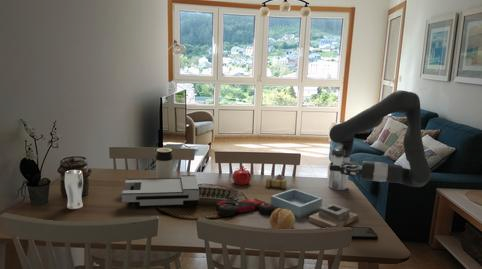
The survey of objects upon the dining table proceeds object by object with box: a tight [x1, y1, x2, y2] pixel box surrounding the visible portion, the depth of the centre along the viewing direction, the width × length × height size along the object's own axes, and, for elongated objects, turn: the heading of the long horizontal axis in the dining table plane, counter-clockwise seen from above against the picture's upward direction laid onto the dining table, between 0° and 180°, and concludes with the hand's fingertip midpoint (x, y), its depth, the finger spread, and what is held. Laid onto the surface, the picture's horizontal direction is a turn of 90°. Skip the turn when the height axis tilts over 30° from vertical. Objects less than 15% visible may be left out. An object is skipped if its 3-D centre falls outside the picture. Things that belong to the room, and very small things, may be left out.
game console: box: [121, 174, 200, 210], centre depth 174 cm, size 21×32×8 cm, turn 102°
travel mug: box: [155, 147, 173, 178], centre depth 193 cm, size 8×8×18 cm
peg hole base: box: [308, 202, 359, 229], centre depth 161 cm, size 18×12×5 cm, turn 134°
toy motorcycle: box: [216, 198, 276, 217], centre depth 168 cm, size 25×5×16 cm
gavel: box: [265, 174, 287, 190], centre depth 206 cm, size 21×5×10 cm
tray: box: [270, 188, 323, 219], centre depth 172 cm, size 16×16×5 cm
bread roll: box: [269, 208, 296, 230], centre depth 149 cm, size 10×15×8 cm, turn 168°
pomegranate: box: [231, 165, 252, 186], centre depth 201 cm, size 10×10×9 cm
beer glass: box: [64, 169, 84, 210], centre depth 161 cm, size 7×7×15 cm
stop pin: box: [330, 148, 345, 191], centre depth 157 cm, size 5×5×16 cm
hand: (330, 166), depth 158 cm, fingers closed on stop pin, 3 cm apart
